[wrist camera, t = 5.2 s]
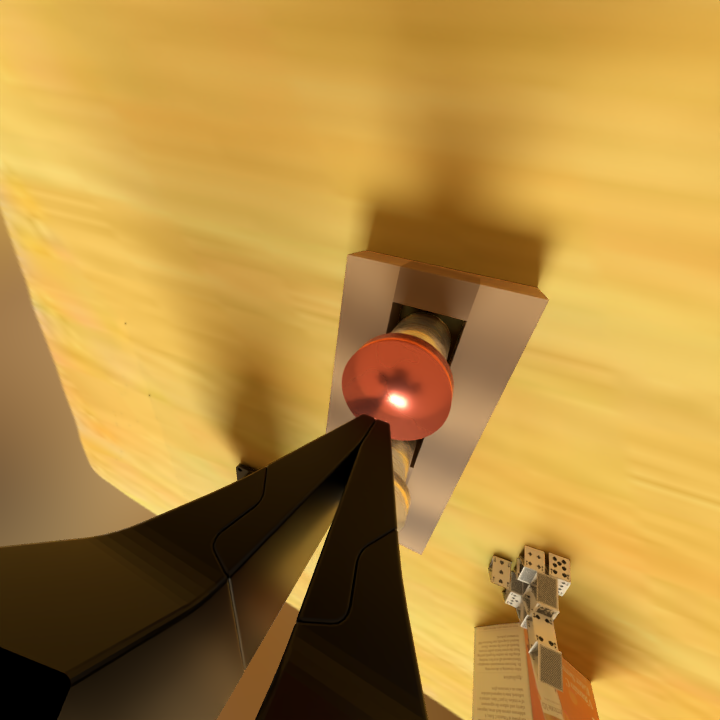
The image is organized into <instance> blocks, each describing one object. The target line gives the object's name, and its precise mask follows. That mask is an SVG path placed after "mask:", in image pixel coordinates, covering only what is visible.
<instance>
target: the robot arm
mask: <svg viewBox="0 0 720 720" xmlns="http://www.w3.org/2000/svg"><path fill="white" fill-rule="evenodd" d="M236 472H237V481H236V482H234V483H232V484H230V485H228V486H225V487H223V488H221V489H219V490H216V491H214V492H212V493H210V494H208V495H205V496H203V497H201V498H198V499H196V500H194V501H191V502H189V503H186V504H184V505H182V506H179V507H177V508H175V509H172V510H170V511H168V512H165V513H163V514H161V515H158V516H156V517H154V518H151V519H149V520H146V521H144V522H142V523H139V524H136V525H134V526H131V527H129V528H126V529H122V530H119V531H116V532H112V533H108V534H104V535H99V536H94V537H87V538H78V539H68V540H59V541H49V542H40V543H30V544H21V545H10V546H1V547H0V720H216V719H217V718H218V716H219V714H220V713H221V711H222V709H223V708H224V706H225V704H226V702H227V701H228V699H229V697H230V696H231V694H232V692H233V690H234V689H235V687H236V685H237V683H238V682H239V680H240V678H241V677H242V675H243V673H244V670H245V669H246V668H247V666H248V665H249V663H250V661H251V659H252V657H253V656H254V654H255V653H256V651H257V649H258V647H259V646H260V644H261V642H262V641H263V639H264V637H265V636H266V634H267V632H268V630H269V629H270V627H271V625H272V624H273V622H274V620H275V618H276V617H277V615H278V613H279V611H280V610H281V608H282V606H283V605H284V603H285V601H286V600H287V598H288V596H289V594H290V593H291V591H292V589H293V588H294V586H295V584H296V582H297V581H298V579H299V577H300V576H301V574H302V572H303V571H304V569H305V567H306V565H307V564H308V562H309V560H310V559H311V557H312V555H313V553H314V552H315V550H316V548H317V547H318V545H319V543H320V541H321V540H322V538H323V536H324V535H325V533H326V531H327V529H328V528H329V526H330V524H331V523H332V524H331V527H330V529H329V532H328V535H327V538H326V540H325V543H324V546H323V548H322V551H321V554H320V557H319V559H318V562H317V565H316V568H315V570H314V573H313V576H312V579H311V581H310V584H309V587H308V590H307V592H306V595H305V598H304V601H303V603H302V606H301V609H300V612H299V614H298V617H297V621H296V624H295V626H294V628H293V631H292V633H291V636H290V639H289V641H288V644H287V647H286V649H285V652H284V654H283V657H282V659H281V662H280V665H279V667H278V669H277V672H276V674H275V676H274V678H273V681H272V683H271V685H270V688H269V690H268V692H267V694H266V697H265V699H264V701H263V703H262V706H261V708H260V710H259V712H258V714H257V717H256V719H255V720H428V715H427V711H426V706H425V701H424V695H423V690H422V685H421V679H420V674H419V669H418V663H417V658H416V653H415V647H414V642H413V636H412V631H411V626H410V620H409V615H408V610H407V604H406V597H405V591H404V585H403V578H402V570H401V561H400V551H399V539H398V531H397V514H396V500H395V486H394V472H393V458H392V444H391V431H390V424H389V423H387V422H385V421H382V420H380V419H377V420H376V419H375V418H374V417H372V416H369V415H367V414H362V415H360V416H358V417H356V418H354V419H353V420H351V421H349V422H347V423H345V424H343V425H341V426H339V427H338V428H336V429H334V430H332V431H330V432H328V433H326V434H325V435H323V436H321V437H319V438H317V439H315V440H313V441H312V442H310V443H308V444H306V445H304V446H302V447H300V448H298V449H297V450H295V451H293V452H291V453H289V454H287V455H285V456H284V457H282V458H280V459H278V460H276V461H274V462H272V463H271V464H269V465H267V467H263V468H261V469H259V470H257V471H255V470H253V469H251V468H249V467H247V466H245V465H243V464H239V465H238V466H237V467H236Z"/></svg>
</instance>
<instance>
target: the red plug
mask: <svg viewBox="0 0 720 720" xmlns="http://www.w3.org/2000/svg"><path fill="white" fill-rule="evenodd" d="M450 346H451V335H450V331H449V329H448V327H447V325H446V324H445V323H444V322H443V321H442V320H441V319H440V318H438V317H437V316H435V315H433V314H430V313H425V312H417V313H413V314H410V315H408V316H406V317H404V318H403V319H402V320H401V321H400V322H399V323H398V325H397V326H396V327H395V328H394V329H393V330H392V332H391V333H387V334H382V335H379V336H376V337H374V338H372V339H371V340H369V341H368V342H366V343H365V344H364V345H363V346H362V347H361V348H360V349H359V350H358V351H357V352H356V353H355V354H354V355H353V356H352V357H351V358H350V359H349V361H348V362H347V364H346V366H345V368H344V371H343V375H342V391H343V396H344V399H345V401H346V403H347V406H348V407H349V409H350V411H351V412H352V413H353V415H354V416H355V417H358V416H360V415H362V414H367V415H369V416H372V417H374V418H375V419H376V420H377V419H380V420H382V421H385V422H387V423H389V424H390V431H391V439H394V440H401V441H410V440H417V439H422V438H425V437H427V436H429V435H431V434H433V433H434V432H436V431H437V430H438V429H439V428H440V427H441V426H442V425H443V424H444V422H445V421H446V419H447V417H448V415H449V412H450V409H451V403H452V397H453V390H454V380H453V375H452V372H451V369H450V367H449V365H448V363H447V357H448V353H449V349H450Z"/></svg>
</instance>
